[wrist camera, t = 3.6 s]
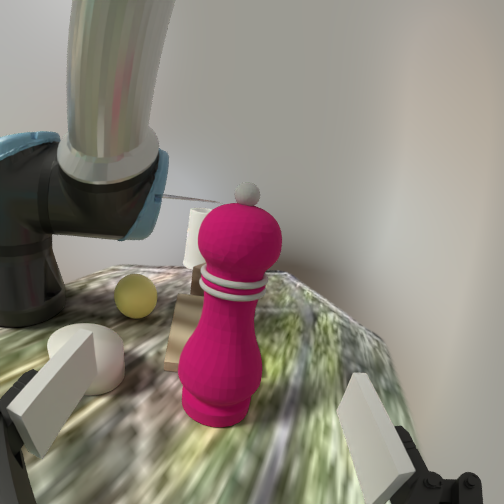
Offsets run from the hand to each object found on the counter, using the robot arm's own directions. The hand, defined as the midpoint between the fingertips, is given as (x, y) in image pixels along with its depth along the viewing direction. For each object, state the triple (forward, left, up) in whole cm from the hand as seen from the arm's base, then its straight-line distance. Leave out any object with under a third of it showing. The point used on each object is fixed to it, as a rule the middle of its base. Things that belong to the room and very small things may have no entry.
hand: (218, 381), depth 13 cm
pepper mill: (-7, +7, -11) cm, 15 cm away
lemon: (-26, +8, -11) cm, 29 cm away
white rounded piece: (-17, -2, -11) cm, 20 cm away
